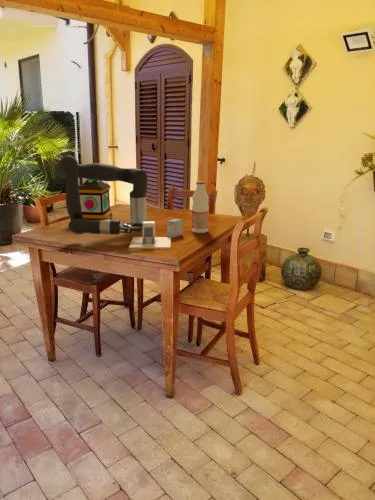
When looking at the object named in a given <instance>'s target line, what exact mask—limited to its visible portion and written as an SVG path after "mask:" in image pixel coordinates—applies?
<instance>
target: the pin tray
mask: <svg viewBox="0 0 375 500" xmlns="http://www.w3.org/2000/svg"><path fill="white" fill-rule="evenodd" d="M171 242H172V237H168V236H165V237H164V236H155V243H154V239H152V243H145V239H143V236H132V240H131V242H130V244H129V246H128V249H143V250H145V249H152V250H153V249H157V250H158V249H159V250H160V249H163V250H164V249H167V250H169V249H171V245H172V243H171Z"/></svg>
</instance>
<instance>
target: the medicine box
mask: <svg viewBox="0 0 375 500" xmlns="http://www.w3.org/2000/svg"><path fill="white" fill-rule="evenodd" d="M183 222H184V221H183V219H181V218H173V219H170V220H167V222H166V223H167V225H166V228H167V229H166V230H167V234H166V235H167V236H166V237H171V239H172V238H176V237H179V236H183V228H184V227H183V226H184V224H183Z"/></svg>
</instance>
